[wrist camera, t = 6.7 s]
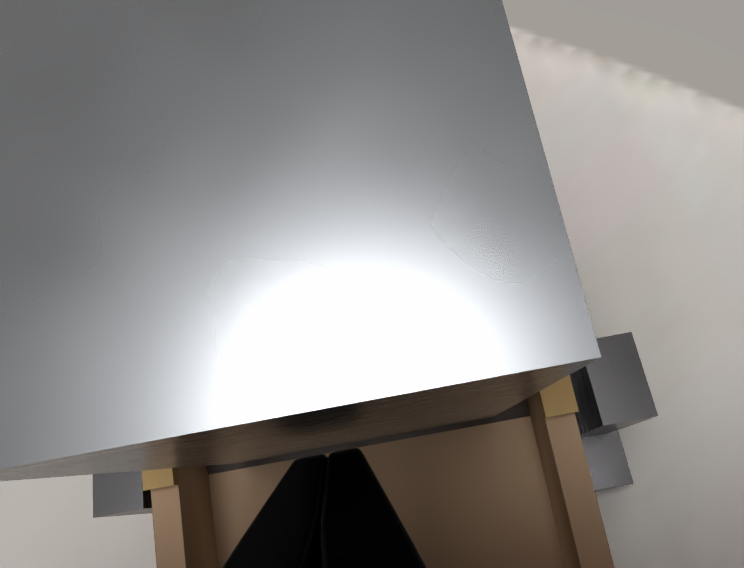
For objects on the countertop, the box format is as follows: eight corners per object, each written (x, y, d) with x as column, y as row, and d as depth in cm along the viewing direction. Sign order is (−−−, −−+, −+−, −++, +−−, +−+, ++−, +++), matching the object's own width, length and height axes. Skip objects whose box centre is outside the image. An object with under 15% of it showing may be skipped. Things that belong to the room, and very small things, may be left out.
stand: (624, 483, 15) (691, 481, 11) (178, 561, 15) (84, 587, 11) (578, 326, 16) (622, 272, 12) (170, 404, 17) (82, 377, 13)
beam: (637, 717, 11) (702, 807, 9) (220, 782, 12) (155, 887, 9) (445, -51, 16) (447, -153, 13) (145, 15, 16) (87, -70, 13)
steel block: (493, 417, 12) (600, 356, 4) (240, 463, 12) (-110, 490, 4) (440, 181, 13) (445, -198, 5) (214, 227, 13) (-87, -72, 6)
